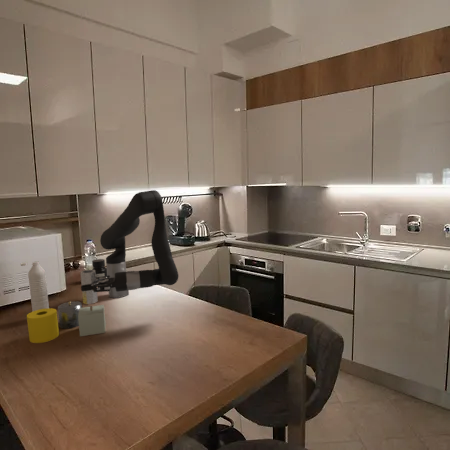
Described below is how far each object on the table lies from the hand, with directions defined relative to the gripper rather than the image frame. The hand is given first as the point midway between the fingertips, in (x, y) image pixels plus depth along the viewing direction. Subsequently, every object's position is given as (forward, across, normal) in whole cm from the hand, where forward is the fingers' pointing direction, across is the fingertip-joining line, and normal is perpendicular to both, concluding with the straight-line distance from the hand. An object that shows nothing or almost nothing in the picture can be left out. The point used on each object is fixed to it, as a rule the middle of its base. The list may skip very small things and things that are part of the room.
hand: (82, 286), depth 137 cm
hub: (+6, -9, +18) cm, 21 cm away
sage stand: (-3, 0, +18) cm, 18 cm away
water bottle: (+20, -21, +19) cm, 35 cm away
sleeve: (-3, 0, +6) cm, 7 cm away
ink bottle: (-3, -73, +19) cm, 75 cm away
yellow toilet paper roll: (+15, 0, +18) cm, 24 cm away
